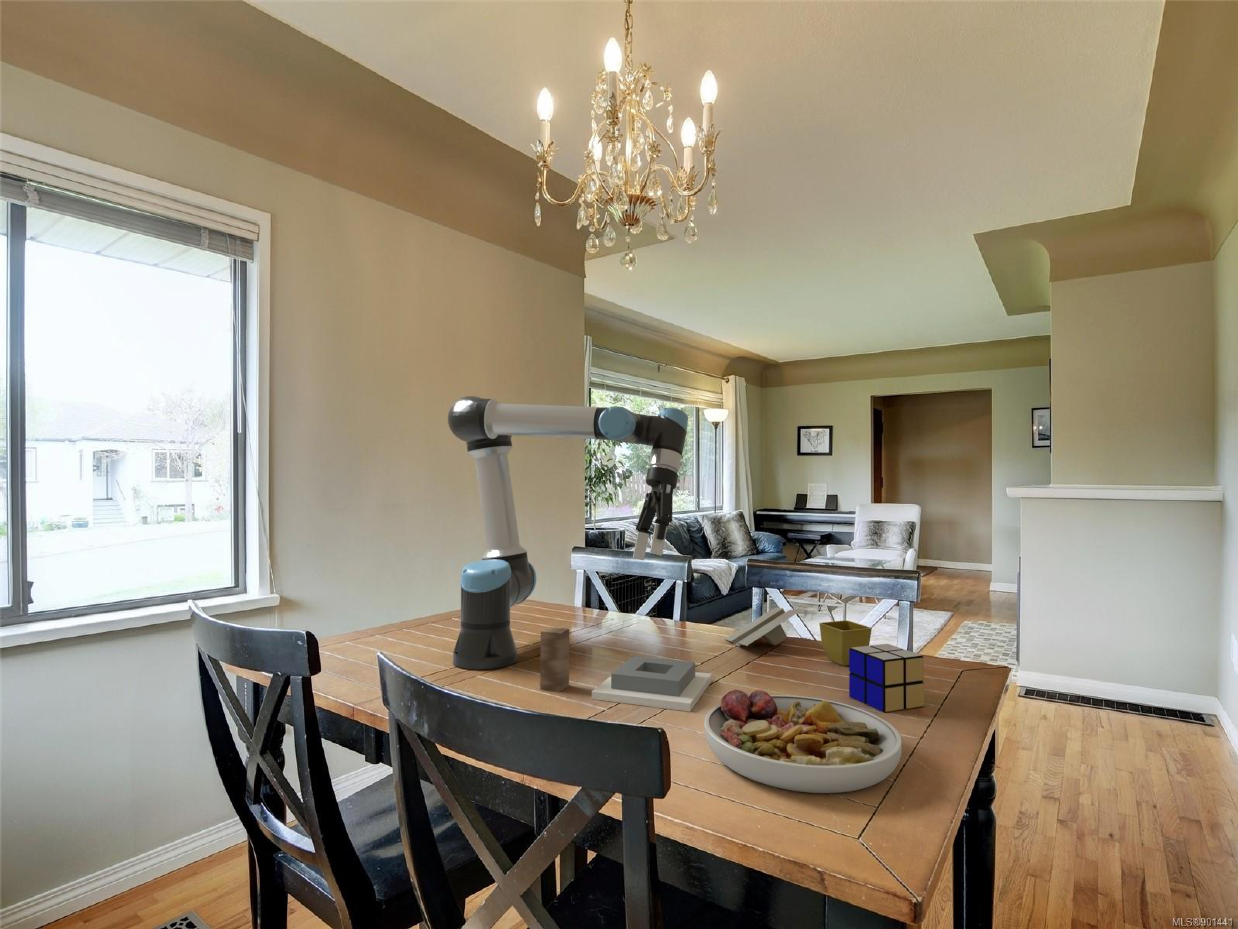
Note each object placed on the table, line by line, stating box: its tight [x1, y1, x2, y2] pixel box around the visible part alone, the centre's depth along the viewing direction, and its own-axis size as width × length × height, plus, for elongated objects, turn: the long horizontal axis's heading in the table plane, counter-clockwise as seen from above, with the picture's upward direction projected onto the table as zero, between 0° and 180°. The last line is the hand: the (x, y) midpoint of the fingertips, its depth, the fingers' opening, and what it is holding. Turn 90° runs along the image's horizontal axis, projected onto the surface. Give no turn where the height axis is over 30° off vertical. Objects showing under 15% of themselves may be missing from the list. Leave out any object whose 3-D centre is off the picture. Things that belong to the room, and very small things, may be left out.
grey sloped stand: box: [724, 607, 801, 647], centre depth 173 cm, size 19×10×17 cm
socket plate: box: [591, 655, 713, 713], centre depth 137 cm, size 20×20×4 cm
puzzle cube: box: [848, 643, 925, 714], centre depth 130 cm, size 10×10×10 cm
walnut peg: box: [539, 626, 570, 693], centre depth 138 cm, size 4×4×12 cm
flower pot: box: [819, 620, 872, 667], centre depth 158 cm, size 9×9×9 cm
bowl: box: [704, 689, 903, 794], centre depth 105 cm, size 30×30×8 cm
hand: (646, 556), depth 154 cm, fingers open, 13 cm apart
